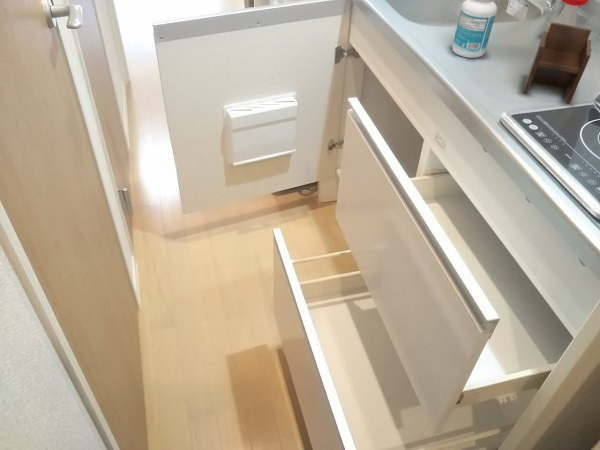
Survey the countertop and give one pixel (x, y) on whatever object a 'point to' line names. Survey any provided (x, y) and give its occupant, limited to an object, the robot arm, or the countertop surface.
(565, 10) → the flask
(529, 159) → the countertop surface
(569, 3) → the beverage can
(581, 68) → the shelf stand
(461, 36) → the pill bottle
